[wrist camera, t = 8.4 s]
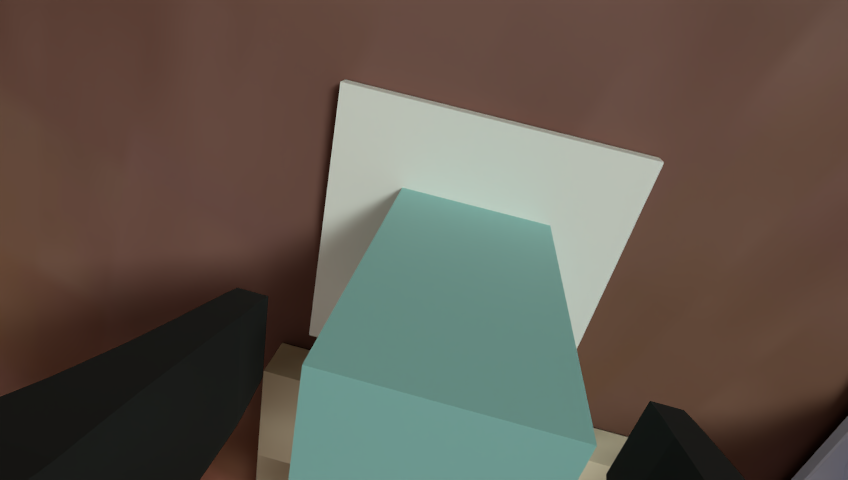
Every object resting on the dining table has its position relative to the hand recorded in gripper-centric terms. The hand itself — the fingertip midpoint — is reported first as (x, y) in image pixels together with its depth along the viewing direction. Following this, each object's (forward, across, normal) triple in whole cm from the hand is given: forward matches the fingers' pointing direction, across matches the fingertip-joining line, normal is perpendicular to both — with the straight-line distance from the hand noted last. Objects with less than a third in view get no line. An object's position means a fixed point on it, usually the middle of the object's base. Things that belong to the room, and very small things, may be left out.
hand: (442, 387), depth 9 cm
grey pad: (+5, 0, 0) cm, 5 cm away
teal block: (+5, 0, 0) cm, 5 cm away
